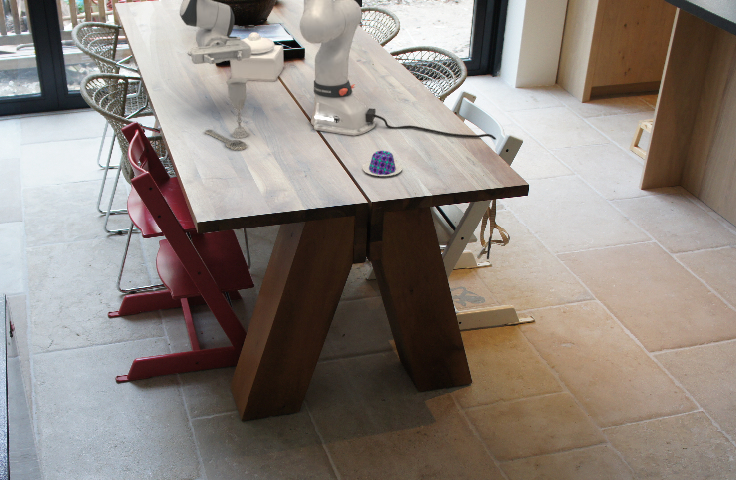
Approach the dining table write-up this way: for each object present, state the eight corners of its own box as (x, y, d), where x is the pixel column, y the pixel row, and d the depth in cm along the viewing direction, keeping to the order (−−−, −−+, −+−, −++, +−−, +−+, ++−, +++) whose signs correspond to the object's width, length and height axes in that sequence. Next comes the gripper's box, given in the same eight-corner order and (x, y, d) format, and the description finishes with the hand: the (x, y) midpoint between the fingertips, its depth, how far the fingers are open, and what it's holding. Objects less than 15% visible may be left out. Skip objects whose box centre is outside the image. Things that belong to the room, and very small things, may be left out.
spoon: (200, 133, 283) (200, 131, 283) (213, 129, 286) (213, 127, 285) (236, 151, 270) (235, 149, 269) (249, 147, 272) (249, 144, 272)
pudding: (410, 169, 256) (411, 152, 253) (386, 181, 249) (386, 165, 246) (378, 159, 263) (379, 143, 260) (354, 171, 255) (354, 155, 252)
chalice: (231, 131, 285) (227, 77, 274) (251, 131, 284) (248, 77, 274) (229, 139, 279) (225, 85, 268) (249, 139, 278) (246, 84, 268)
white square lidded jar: (283, 67, 341) (282, 26, 332) (274, 81, 327) (273, 39, 318) (241, 65, 344) (238, 25, 335) (230, 80, 329) (227, 38, 320)
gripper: (185, 42, 285) (194, 53, 274) (243, 36, 290) (254, 46, 279) (187, 61, 289) (196, 73, 278) (244, 54, 294) (255, 66, 283)
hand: (226, 59), depth 279 cm, fingers open, 8 cm apart
